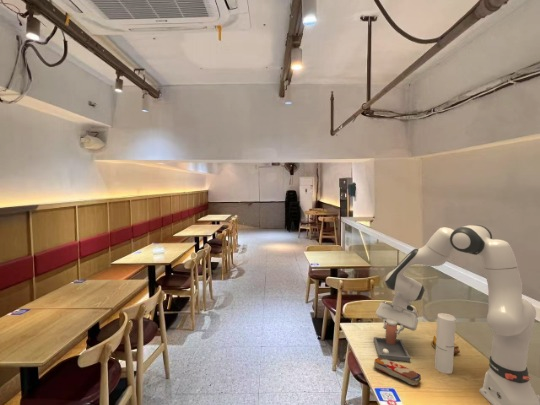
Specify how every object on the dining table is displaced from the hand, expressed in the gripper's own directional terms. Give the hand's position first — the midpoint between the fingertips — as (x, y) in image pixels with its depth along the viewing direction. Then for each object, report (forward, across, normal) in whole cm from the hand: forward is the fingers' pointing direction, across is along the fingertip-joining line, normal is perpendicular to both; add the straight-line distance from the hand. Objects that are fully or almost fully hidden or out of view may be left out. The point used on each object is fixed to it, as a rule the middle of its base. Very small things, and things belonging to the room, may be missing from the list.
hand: (390, 331), depth 149 cm
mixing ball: (+10, 0, +3) cm, 10 cm away
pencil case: (+19, +10, -2) cm, 21 cm away
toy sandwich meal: (-10, +18, +26) cm, 33 cm away
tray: (+7, 0, +8) cm, 11 cm away
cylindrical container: (+4, +23, +12) cm, 26 cm away
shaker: (+4, 0, +5) cm, 6 cm away
